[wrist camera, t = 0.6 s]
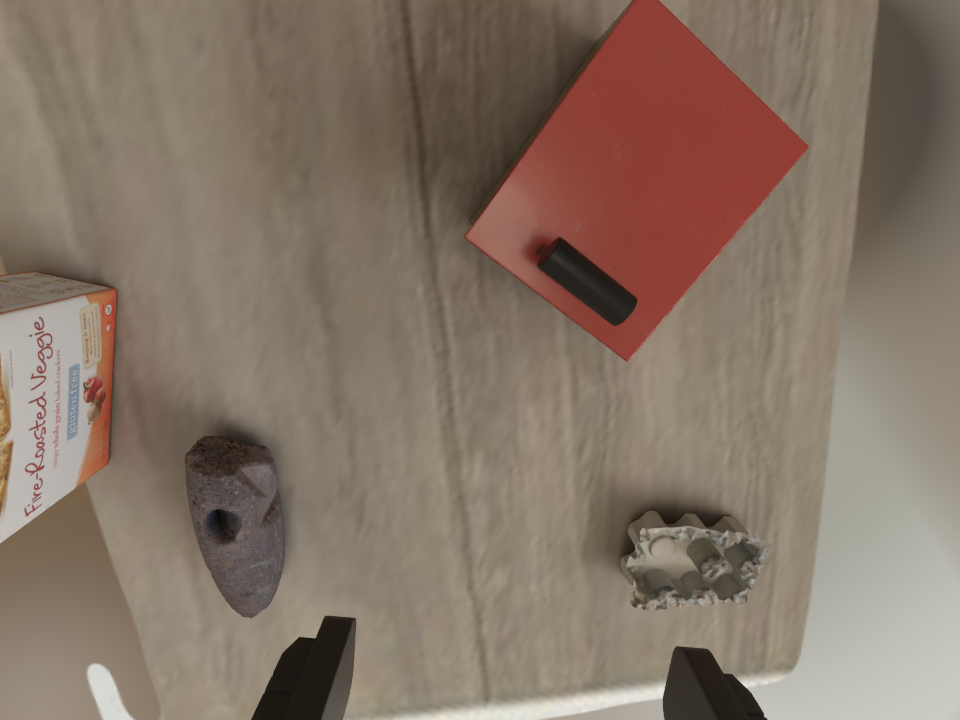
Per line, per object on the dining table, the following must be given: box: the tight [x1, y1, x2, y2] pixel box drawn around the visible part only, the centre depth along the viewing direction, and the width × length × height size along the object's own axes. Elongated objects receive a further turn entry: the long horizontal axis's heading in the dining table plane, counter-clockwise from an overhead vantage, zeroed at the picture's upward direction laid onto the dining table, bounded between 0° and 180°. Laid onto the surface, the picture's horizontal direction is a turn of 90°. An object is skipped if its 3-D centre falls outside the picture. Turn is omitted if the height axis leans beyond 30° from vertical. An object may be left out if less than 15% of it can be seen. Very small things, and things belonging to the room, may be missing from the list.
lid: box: [464, 0, 809, 362], centre depth 26 cm, size 15×12×5 cm
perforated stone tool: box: [185, 436, 285, 618], centre depth 38 cm, size 15×5×7 cm, turn 1°
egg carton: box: [620, 511, 771, 610], centre depth 42 cm, size 11×8×4 cm
